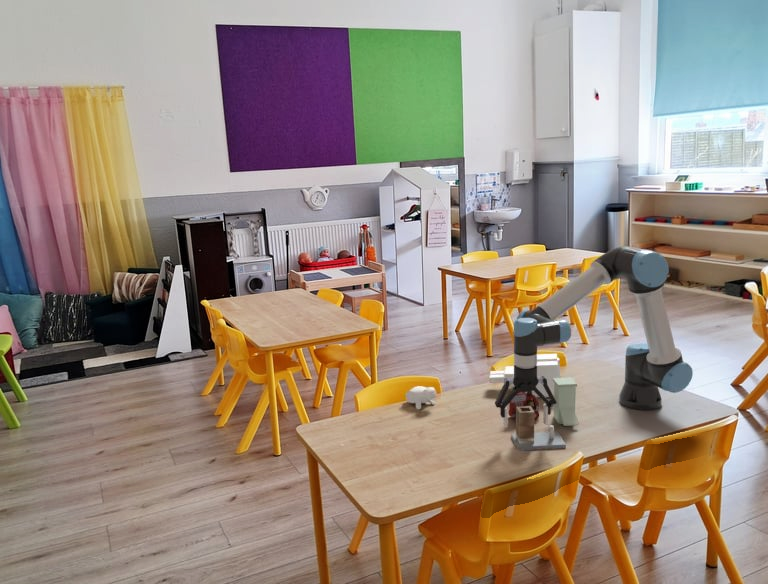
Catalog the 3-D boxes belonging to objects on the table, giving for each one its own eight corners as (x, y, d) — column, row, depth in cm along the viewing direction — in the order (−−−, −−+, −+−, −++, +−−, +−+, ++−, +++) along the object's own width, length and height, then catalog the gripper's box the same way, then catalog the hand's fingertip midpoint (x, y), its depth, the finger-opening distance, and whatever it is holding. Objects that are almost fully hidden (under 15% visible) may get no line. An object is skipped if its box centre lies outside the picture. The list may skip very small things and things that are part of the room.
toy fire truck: (543, 419, 238) (544, 392, 236) (514, 425, 234) (514, 398, 232) (533, 412, 245) (533, 386, 242) (504, 417, 241) (504, 391, 239)
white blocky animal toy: (406, 411, 258) (427, 408, 246) (400, 390, 259) (422, 386, 247) (422, 405, 263) (445, 402, 251) (417, 385, 264) (439, 381, 251)
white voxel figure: (493, 383, 281) (560, 381, 274) (489, 405, 258) (562, 403, 251) (490, 350, 278) (558, 347, 271) (486, 370, 255) (560, 367, 248)
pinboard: (557, 434, 225) (557, 419, 224) (565, 447, 215) (566, 432, 214) (511, 437, 225) (511, 422, 223) (518, 450, 215) (518, 434, 214)
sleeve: (530, 436, 222) (530, 406, 220) (534, 442, 217) (534, 412, 215) (516, 436, 222) (516, 406, 220) (519, 443, 217) (519, 412, 215)
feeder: (570, 415, 240) (571, 377, 237) (580, 429, 229) (581, 389, 225) (552, 416, 240) (552, 378, 237) (561, 430, 228) (562, 390, 225)
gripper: (559, 359, 218) (559, 417, 222) (485, 363, 217) (486, 422, 222) (566, 366, 210) (565, 427, 215) (489, 370, 210) (490, 431, 215)
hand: (525, 424), depth 218 cm, fingers open, 13 cm apart
